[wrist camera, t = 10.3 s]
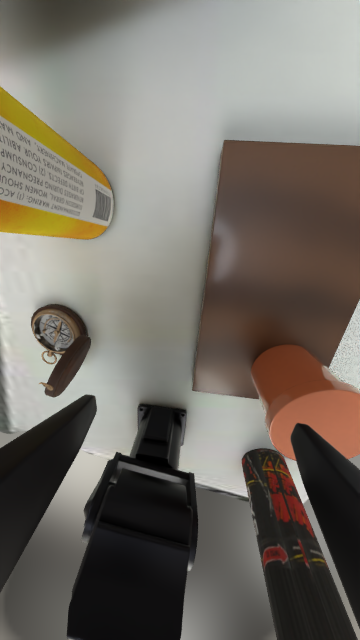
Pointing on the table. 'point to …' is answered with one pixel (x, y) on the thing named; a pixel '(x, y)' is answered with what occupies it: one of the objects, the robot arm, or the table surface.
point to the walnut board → (278, 258)
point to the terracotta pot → (305, 399)
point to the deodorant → (291, 555)
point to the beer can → (47, 180)
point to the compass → (60, 344)
